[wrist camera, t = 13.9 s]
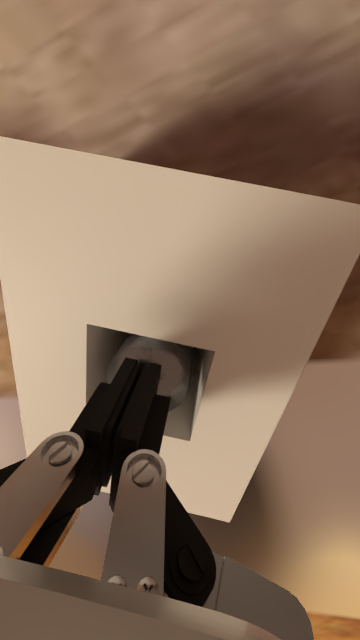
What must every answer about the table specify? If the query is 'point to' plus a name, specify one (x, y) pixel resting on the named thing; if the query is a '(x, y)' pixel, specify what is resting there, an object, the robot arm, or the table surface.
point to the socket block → (166, 298)
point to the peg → (162, 353)
